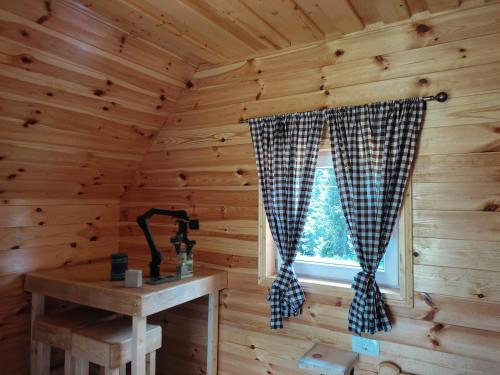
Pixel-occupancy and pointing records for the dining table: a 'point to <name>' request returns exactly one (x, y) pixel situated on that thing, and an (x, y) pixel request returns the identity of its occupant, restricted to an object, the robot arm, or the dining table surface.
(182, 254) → the coffee can
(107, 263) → the dining table surface
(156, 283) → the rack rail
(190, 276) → the parts tray
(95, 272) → the dining table surface
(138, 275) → the medicine box
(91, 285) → the dining table surface
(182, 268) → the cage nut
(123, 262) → the storage jar
